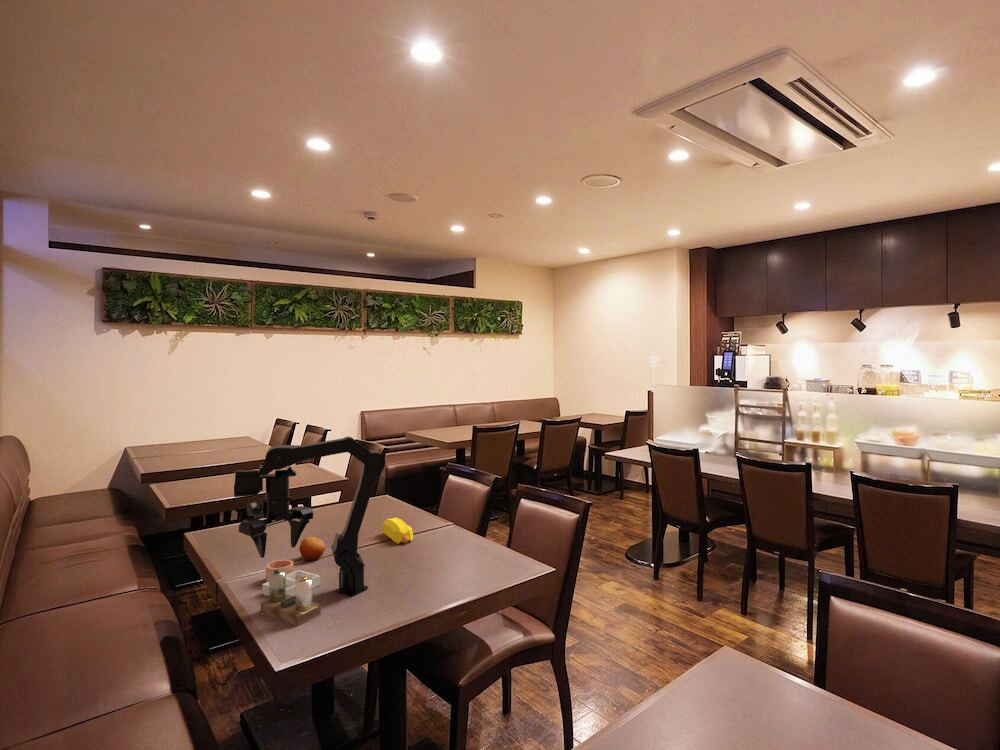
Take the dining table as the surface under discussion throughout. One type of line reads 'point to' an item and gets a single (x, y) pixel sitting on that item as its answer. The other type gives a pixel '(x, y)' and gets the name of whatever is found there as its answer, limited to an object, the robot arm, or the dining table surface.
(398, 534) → the yellow lump
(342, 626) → the dining table surface
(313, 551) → the fruit
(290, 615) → the cradle
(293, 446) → the robot arm
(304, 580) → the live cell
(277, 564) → the cup
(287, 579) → the trough tray
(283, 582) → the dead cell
